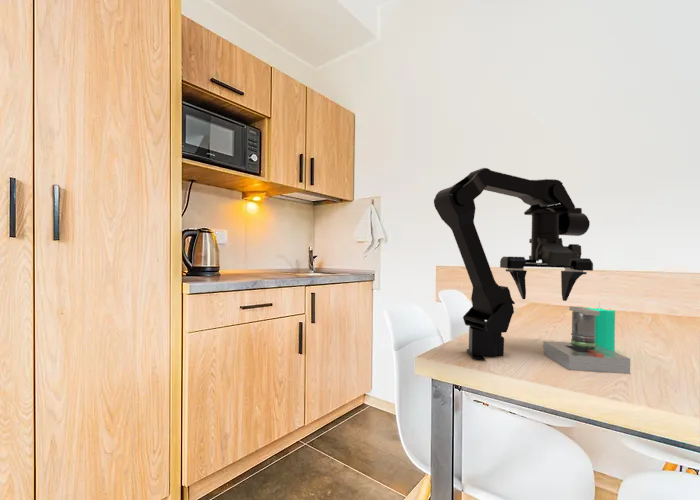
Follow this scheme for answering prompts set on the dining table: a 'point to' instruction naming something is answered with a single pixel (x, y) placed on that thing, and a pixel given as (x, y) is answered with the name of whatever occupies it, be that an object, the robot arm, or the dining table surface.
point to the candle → (605, 328)
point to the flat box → (586, 358)
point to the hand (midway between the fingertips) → (544, 299)
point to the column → (583, 327)
